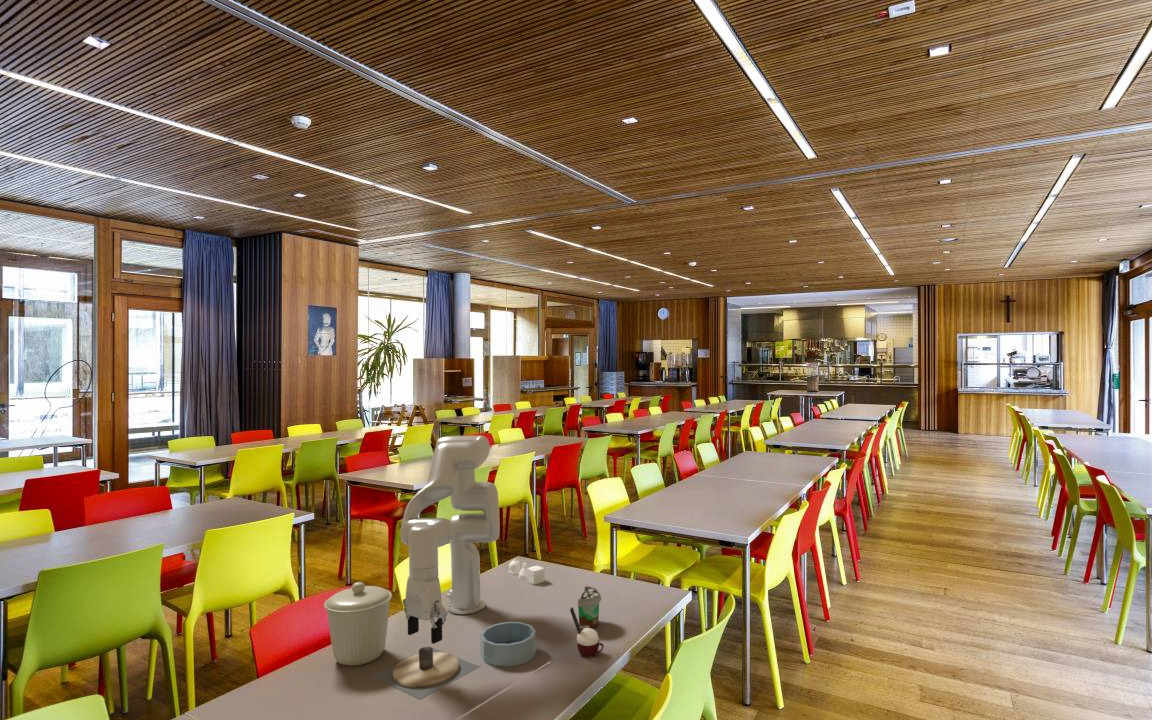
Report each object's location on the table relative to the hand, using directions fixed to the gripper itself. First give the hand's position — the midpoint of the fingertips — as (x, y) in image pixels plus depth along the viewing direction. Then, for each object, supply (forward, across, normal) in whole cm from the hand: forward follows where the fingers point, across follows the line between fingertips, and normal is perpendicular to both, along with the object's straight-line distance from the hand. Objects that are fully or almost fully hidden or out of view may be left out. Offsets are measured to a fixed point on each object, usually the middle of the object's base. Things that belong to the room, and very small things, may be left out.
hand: (424, 637), depth 161 cm
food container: (+9, +19, +50) cm, 54 cm away
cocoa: (+10, +28, +34) cm, 45 cm away
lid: (+9, 0, +1) cm, 9 cm away
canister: (+10, -23, -4) cm, 26 cm away
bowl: (+9, +11, +21) cm, 25 cm away
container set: (+8, -29, +72) cm, 78 cm away
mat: (+10, 0, +1) cm, 10 cm away
